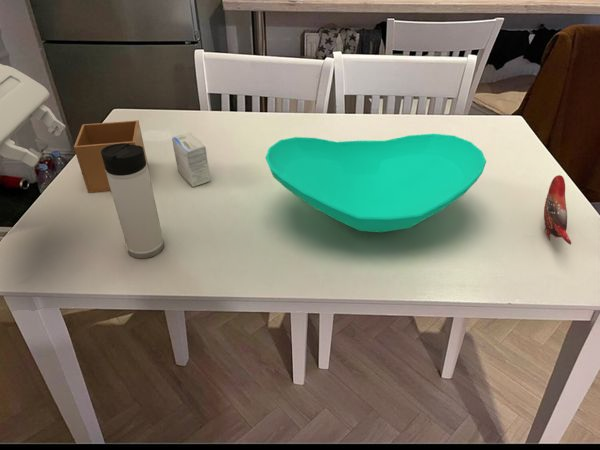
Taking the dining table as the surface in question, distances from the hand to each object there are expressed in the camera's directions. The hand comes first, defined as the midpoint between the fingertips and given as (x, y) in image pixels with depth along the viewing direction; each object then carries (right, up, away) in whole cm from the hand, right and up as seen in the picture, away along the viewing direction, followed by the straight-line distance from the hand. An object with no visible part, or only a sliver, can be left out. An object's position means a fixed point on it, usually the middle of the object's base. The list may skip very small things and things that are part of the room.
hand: (50, 145), depth 70 cm
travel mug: (+10, -16, +13) cm, 23 cm away
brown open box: (-2, -1, +32) cm, 32 cm away
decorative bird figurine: (+83, -15, +15) cm, 86 cm away
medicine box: (+14, -2, +32) cm, 35 cm away
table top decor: (+51, -10, +22) cm, 56 cm away
